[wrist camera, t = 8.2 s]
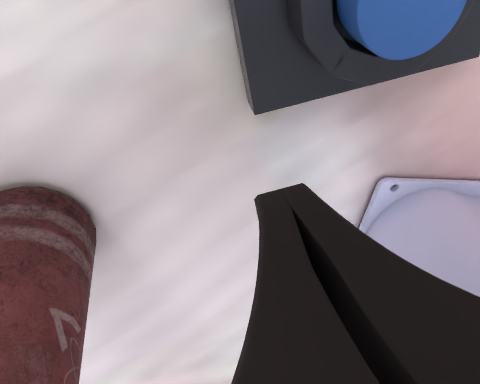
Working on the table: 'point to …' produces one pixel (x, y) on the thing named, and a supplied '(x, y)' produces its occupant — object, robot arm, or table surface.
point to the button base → (325, 51)
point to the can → (43, 285)
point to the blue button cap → (399, 24)
